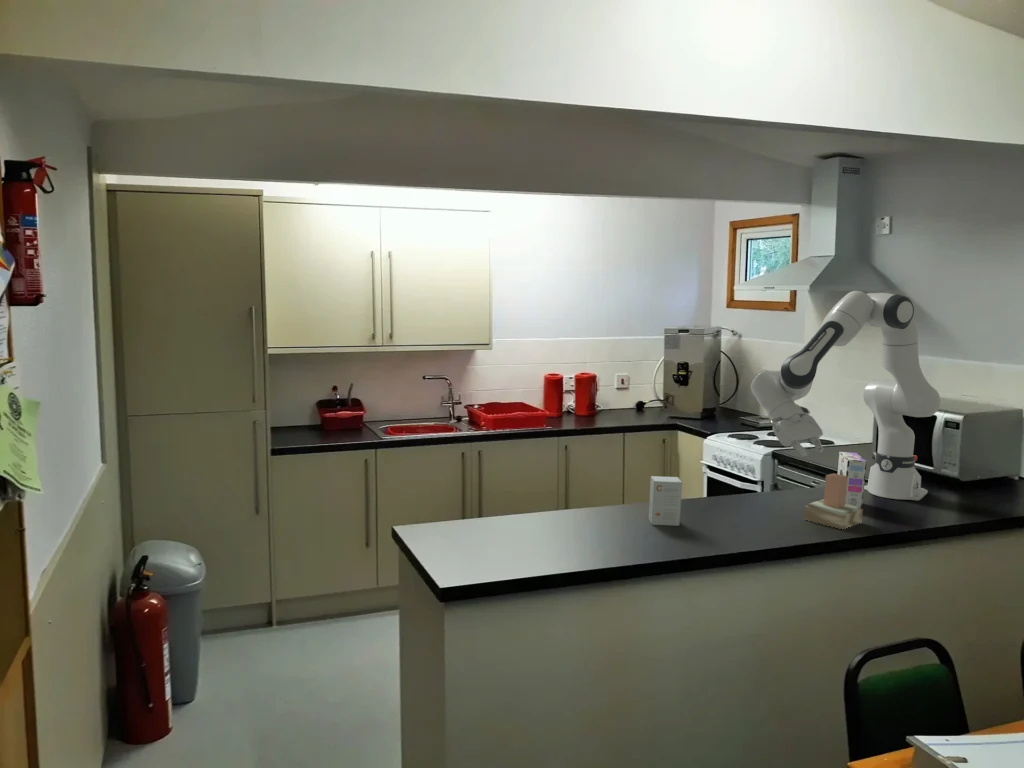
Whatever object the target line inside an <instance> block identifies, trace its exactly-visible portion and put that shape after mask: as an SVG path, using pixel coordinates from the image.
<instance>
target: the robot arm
mask: <svg viewBox="0 0 1024 768" xmlns="http://www.w3.org/2000/svg"><path fill="white" fill-rule="evenodd" d="M914 314H915V307H914V305H913V302H912V300H911V299H910V298H909V297H907V296H905V295H902V294H898V293H897V294H895V293H889V292H863V291H860V290H853V291H849V292H848V293H847V294H846V295H844V296H843V297H842V298H841V299H839V301H838V302H837V303H836V304H834V306H833V307H832V308H831V309H830V311H829V312H828V313H827V314H826V315H825V317H824V319H823V320H822V322H821V323H820V325H819V328H818V330H817V332H816V333H815V334H814V335H813V337H812V338H811V339H809V341H808V342H807V343H806V344H805V346H803V347H802V348H801V350H799V351H798V352H796V353H794V354H792V355H790V356H788V357H787V358H785V360H784V361H783V362H782V364H781V367H780V370H769V369H764V370H763V369H762V370H761V371H759V372H758V373H757V374H756V375H755V376H754V377H753V379H752V380H751V382H750V390H751V393H752V395H753V396H754V398H755V399H756V401H757V402H758V404H759V406H761V407H762V408H763V409H764V410H765V411H766V413H767V416H768V418H769V420H771V421H770V422H771V423H770V424H771V426H772V432H773V433H774V435H775V436H776V438H777V440H778V441H779V443H780V444H781V445H782V446H783V447H790V446H791V447H792V448H793V449H794V450H795V451H797V452H798V453H799V454H800V455H801V457H806V456H808V455H809V451H808V450H807V448H806V447H803V445H802V444H805V443H809V442H811V444H813V445H814V447H815V448H814V450H815V451H816V453H822V452H823V451H824V450H825V448H824V447H823V445H822V443H821V440H820V438H822V436H823V434H824V433H823V429H822V428H821V426H820V425H819V424H818V422H817V421H816V420H815V418H814V417H813V416H812V415H811V411H810V410H809V408H807V407H804V406H801V405H799V404H797V403H796V402H795V401H798V400H800V399H802V398H804V397H805V396H807V395H808V394H809V393H810V391H811V389H812V385H813V381H814V379H815V377H816V374H817V371H818V365H819V363H820V362H821V361H822V360H823V358H825V356H826V355H827V354H828V352H829V351H830V350H831V349H832V348H833V347H844V346H846V345H847V344H849V343H851V341H853V339H854V338H855V337H856V336H857V335H858V334H859V332H861V330H862V328H863V327H864V326H865V325H866V326H869V327H875V328H876V327H877V328H881V335H880V337H881V338H880V339H881V340H880V343H881V345H880V346H881V351H880V352H881V364H882V367H883V368H884V369H885V370H886V371H887V372H889V374H891V376H892V377H893V378H894V380H893V379H892V380H891V379H890V380H889V379H876V380H872V381H869V382H868V383H867V384H866V386H865V387H864V389H863V392H862V393H863V394H862V395H863V396H862V397H863V401H864V403H865V404H866V406H867V407H868V408H869V409H870V410H871V412H872V413H873V415H874V417H875V420H876V423H877V428H878V436H877V437H878V440H877V451H876V452H875V455H874V462H875V463H874V464H873V465H871V466H870V468H869V469H870V470H869V474H868V479H867V481H868V482H867V484H866V485H865V484H864V490H866V491H867V492H868V493H869V494H871V495H873V496H877V497H880V498H886V499H891V500H892V499H894V500H909V501H910V500H911V501H920V500H922V499H923V498H924V497H925V496H926V495H927V494H928V489H925V488H923V487H921V486H922V475H920V473H919V472H918V470H917V469H916V468H915V466H916V464H915V463H916V462H917V460H918V456H917V455H914V451H915V450H914V449H915V439H916V436H915V433H914V430H913V429H912V428H911V427H910V426H908V425H907V424H906V422H905V419H904V417H903V416H908V417H914V418H927V417H933V415H935V414H936V412H938V410H939V408H940V406H941V397H940V394H939V391H938V390H937V389H936V388H934V386H932V385H931V384H930V383H929V382H928V380H927V378H926V377H925V375H924V374H923V371H922V368H921V364H920V360H919V359H920V358H919V357H920V356H919V338H918V337H919V335H918V328H917V322H916V318H915V315H914Z"/></svg>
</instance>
